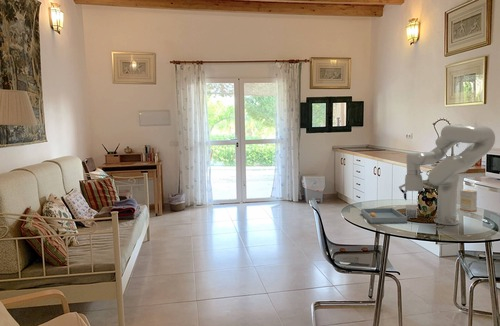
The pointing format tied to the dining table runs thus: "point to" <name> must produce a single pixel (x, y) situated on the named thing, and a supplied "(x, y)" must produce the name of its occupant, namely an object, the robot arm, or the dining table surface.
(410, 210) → the silver metal block
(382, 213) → the tray
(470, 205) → the supplement box
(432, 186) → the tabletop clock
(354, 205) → the dining table surface
